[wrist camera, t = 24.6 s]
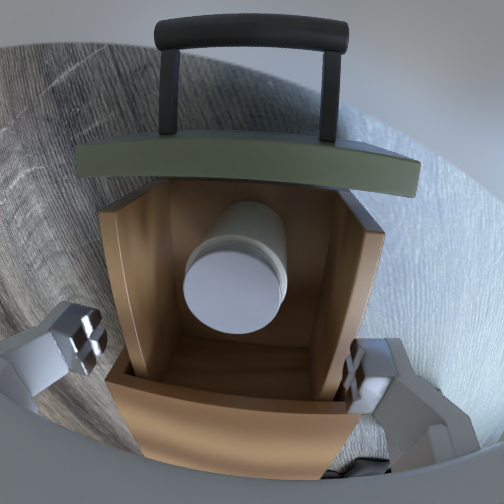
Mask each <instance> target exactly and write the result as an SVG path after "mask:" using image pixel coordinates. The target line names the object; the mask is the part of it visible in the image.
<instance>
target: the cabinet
mask: <svg viewBox="0 0 504 504" xmlns="http://www.w3.org/2000/svg"><path fill="white" fill-rule="evenodd" d="M105 383H106V385H107V387H108V389H109V392H110V394H111V396H112V398H113V400H114V402H115V404H116V406H117V408H118V410H119V412H120V414H121V416H122V417H123V419H124V421H125V423H126V425H127V427H128V429H129V430H130V432H131V434H132V436H133V437H134V439H135V441H136V443H137V444H138V446H139V448H140V449H141V451H142V452H143V454H144V456H145V457H146V458H149V459H153V460H157V461H160V462H164V463H168V464H173V465H177V466H181V467H186V468H191V469H196V470H201V471H207V472H213V473H220V474H227V475H234V476H243V477H253V478H266V479H285V480H319V479H320V478H321V476H322V475H323V474H324V472H325V471H326V470H327V468H328V467H329V466H330V464H331V463H332V461H333V460H334V459H335V457H336V456H337V454H338V453H339V451H340V450H341V448H342V447H343V445H344V444H345V442H346V441H347V439H348V438H349V436H350V435H351V433H352V431H353V430H354V428H355V427H356V425H357V423H358V422H359V420H360V418H361V417H362V415H363V414H347V410H346V403H345V396H346V393H347V391H348V390H347V389H346V388H345V387H344V386H343V381H342V379H341V382H340V384H339V387H338V389H337V392H336V394H335V397H334V399H333V401H332V402H329V401H296V400H279V399H267V398H256V397H246V396H238V395H230V394H222V393H215V392H209V391H202V390H196V389H191V388H185V387H180V386H175V385H170V384H165V383H160V382H156V381H151V380H147V379H143V378H139V377H136V375H135V372H134V369H133V366H132V363H131V360H130V357H129V353H128V350H127V347H126V345H125V347H124V348H123V350H122V352H121V353H120V355H119V357H118V358H117V360H116V362H115V363H114V365H113V367H112V368H111V370H110V371H109V373H108V375H107V376H106V378H105Z"/></svg>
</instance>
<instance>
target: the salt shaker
mask: <svg viewBox="0 0 504 504" xmlns="http://www.w3.org/2000/svg"><path fill="white" fill-rule="evenodd" d="M286 291H287V232H286V228H285V225H284V223H283V221H282V219H281V218H280V216H279V215H278V214H277V213H276V212H275V211H274V210H273V209H271V208H270V207H268V206H267V205H265V204H262V203H259V202H256V201H238V202H234V203H232V204H230V205H228V206H226V207H225V208H223V209H222V210H221V211H220V212H219V213H218V214H217V216H216V217H215V218H214V220H213V221H212V223H211V224H210V226H209V227H208V229H207V230H206V232H205V233H204V235H203V236H202V238H201V240H200V241H199V243H198V244H197V246H196V247H195V249H194V250H193V252H192V253H191V255H190V257H189V259H188V261H187V264H186V268H185V277H184V282H183V293H184V298H185V301H186V303H187V305H188V307H189V309H190V310H191V312H192V313H193V314H194V315H195V316H196V317H197V318H198V319H199V320H200V321H201V322H202V323H204V324H205V325H207V326H209V327H211V328H213V329H215V330H218V331H221V332H224V333H230V334H244V333H250V332H254V331H256V330H259V329H261V328H263V327H264V326H266V325H267V324H268V323H269V322H271V321H272V320H273V318H274V317H275V316H276V314H277V312H278V311H279V308H280V305H281V303H282V301H283V299H284V297H285V295H286Z"/></svg>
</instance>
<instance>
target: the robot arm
mask: <svg viewBox="0 0 504 504" xmlns="http://www.w3.org/2000/svg"><path fill="white" fill-rule="evenodd" d="M101 320H102V317H101V314H100V311H99V310H97V309H95V308H91V307H87V306H83V305H79V304H75V303H70V302H67V301H62V302H60V303H59V304H58V305H57V306H56V307H55V308H54V309H53V310H52V311H51V313H50V314H49V315H48V316H47V317H46V318H45V319H44V320H43V321H42V322H41V323H40V325H39V326H38V327H35V326H34V327H32V328H29V329H27V330H25V331H23V332H20V333H18V334H16V335H14V336H11V337H9V338H7V339H5V340H2V341H0V504H504V441H502V442H500V443H498V444H495V445H492V446H490V447H487V448H485V449H482V450H481V449H480V446H479V443H478V440H477V437H476V434H475V431H474V428H473V426H472V423H471V420H470V417H469V416H468V415H467V414H465V413H464V412H463V411H462V410H461V409H459V408H458V407H457V406H456V405H455V404H453V403H452V402H451V401H450V400H448V399H447V398H446V397H445V396H444V395H442V394H441V393H440V392H439V391H437V390H436V389H435V388H434V387H433V386H431V385H430V384H429V383H428V382H426V381H425V380H424V379H423V378H422V377H420V376H415V374H414V372H413V369H412V366H411V364H410V361H409V359H408V356H407V354H406V351H405V349H404V346H403V344H402V341H401V340H400V339H399V338H384V339H382V338H381V339H371V338H354V339H353V340H352V342H351V344H350V347H349V348H350V353H351V354H350V355H349V356H347V357H346V359H345V362H344V365H343V371H342V381H343V386H344V387H345V388H346V389H347V390H348V391H347V393H346V396H345V403H346V410H347V414H373V416H374V418H375V419H376V420H377V421H378V422H379V424H380V425H381V426H382V427H383V429H384V430H385V431H386V432H387V434H388V435H389V436H390V437H391V438H392V440H393V441H394V442H395V443H396V445H397V446H398V447H399V448H400V450H401V451H402V452H403V453H404V454H403V455H402V456H401V457H400V458H399V459H398V460H397V461H396V462H394V464H393V465H392V466H391V472H392V473H388V474H381V475H373V476H365V477H355V478H342V479H323V480H285V479H266V478H253V477H243V476H234V475H227V474H220V473H213V472H207V471H201V470H196V469H191V468H186V467H181V466H177V465H173V464H168V463H164V462H160V461H157V460H153V459H149V458H146V457H142V456H139V455H136V454H132V453H129V452H126V451H123V450H120V449H117V448H114V447H112V446H109V445H106V444H103V443H101V442H98V441H96V440H93V439H91V438H88V437H86V436H83V435H81V434H79V433H76V432H74V431H72V430H70V429H67V428H65V427H63V426H61V425H59V424H57V423H55V422H53V421H51V420H49V419H47V418H45V417H43V416H41V415H39V414H37V412H38V410H39V405H38V404H37V402H36V401H35V400H34V398H33V396H35V395H36V394H38V393H39V392H41V391H42V390H43V389H45V388H46V387H48V386H49V385H51V384H52V383H54V382H55V381H57V380H58V379H60V378H61V377H62V376H64V375H65V374H67V373H68V372H69V371H72V372H75V373H79V374H82V375H85V376H89V374H90V373H91V371H92V370H93V368H94V366H95V365H96V357H98V356H100V355H101V354H102V353H103V352H104V350H105V348H106V344H107V333H106V329H105V328H104V327H103V325H102V324H101V323H100V322H101Z"/></svg>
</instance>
